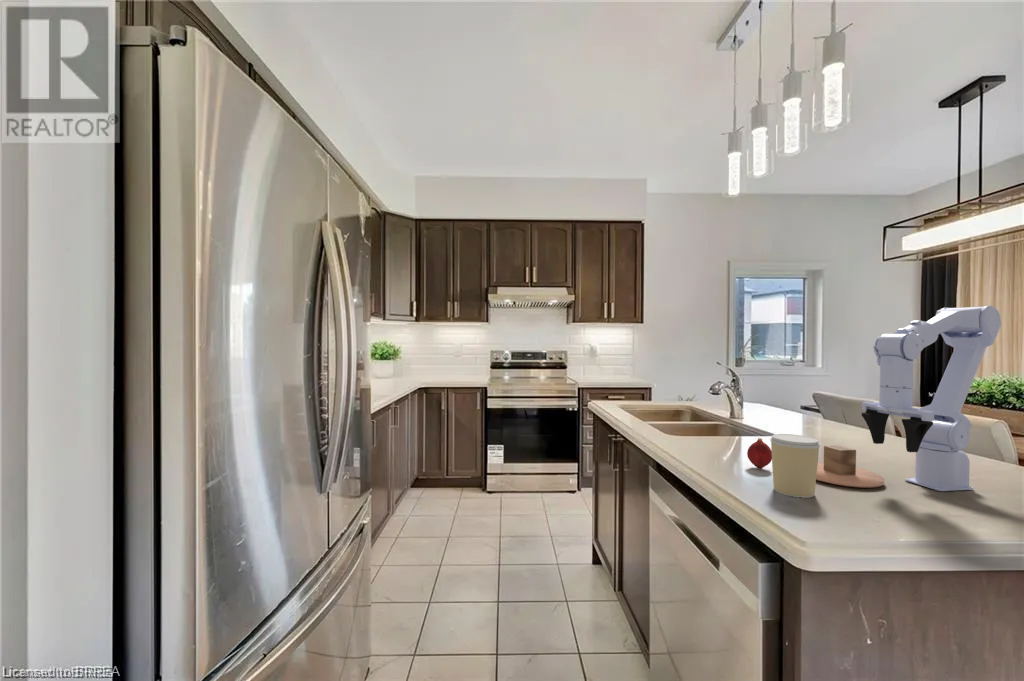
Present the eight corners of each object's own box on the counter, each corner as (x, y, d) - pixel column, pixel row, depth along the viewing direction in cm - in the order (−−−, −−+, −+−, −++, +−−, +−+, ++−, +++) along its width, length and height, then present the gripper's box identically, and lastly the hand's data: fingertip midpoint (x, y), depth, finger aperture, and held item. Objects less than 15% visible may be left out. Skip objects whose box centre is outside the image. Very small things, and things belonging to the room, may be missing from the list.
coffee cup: (814, 488, 103) (815, 436, 103) (822, 502, 95) (823, 444, 95) (767, 482, 107) (768, 432, 107) (771, 495, 99) (772, 440, 98)
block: (839, 469, 114) (839, 445, 113) (855, 474, 109) (856, 449, 109) (823, 469, 113) (824, 445, 113) (839, 475, 108) (840, 450, 108)
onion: (775, 472, 115) (776, 441, 115) (751, 471, 116) (751, 440, 116) (767, 466, 121) (768, 436, 121) (744, 464, 122) (744, 435, 122)
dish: (838, 467, 121) (838, 461, 121) (903, 488, 104) (904, 481, 104) (782, 469, 118) (782, 463, 118) (840, 491, 101) (840, 485, 101)
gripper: (851, 383, 108) (850, 440, 108) (915, 391, 94) (913, 456, 94) (876, 383, 109) (875, 439, 109) (943, 390, 95) (941, 455, 95)
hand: (894, 447), depth 102 cm, fingers open, 7 cm apart
